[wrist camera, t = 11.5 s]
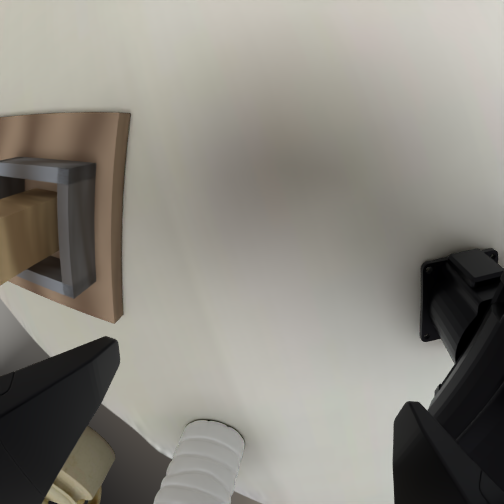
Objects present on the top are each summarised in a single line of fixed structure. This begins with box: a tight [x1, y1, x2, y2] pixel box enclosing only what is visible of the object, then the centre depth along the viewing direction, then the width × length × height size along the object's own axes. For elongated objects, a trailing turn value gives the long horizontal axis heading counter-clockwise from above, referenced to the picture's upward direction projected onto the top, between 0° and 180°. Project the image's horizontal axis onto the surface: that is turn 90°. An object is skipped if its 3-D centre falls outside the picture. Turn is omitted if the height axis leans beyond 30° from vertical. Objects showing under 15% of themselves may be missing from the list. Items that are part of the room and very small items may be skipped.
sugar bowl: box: [42, 425, 115, 504], centre depth 29 cm, size 15×11×15 cm
